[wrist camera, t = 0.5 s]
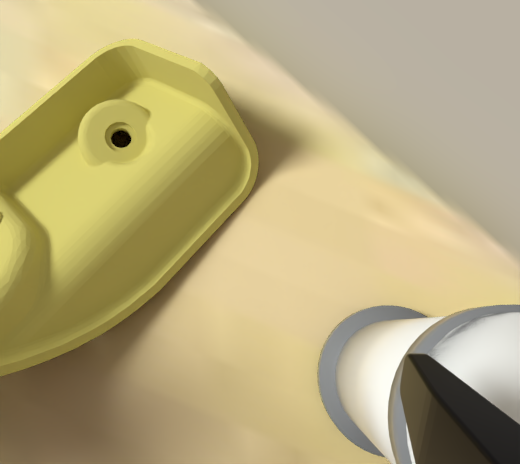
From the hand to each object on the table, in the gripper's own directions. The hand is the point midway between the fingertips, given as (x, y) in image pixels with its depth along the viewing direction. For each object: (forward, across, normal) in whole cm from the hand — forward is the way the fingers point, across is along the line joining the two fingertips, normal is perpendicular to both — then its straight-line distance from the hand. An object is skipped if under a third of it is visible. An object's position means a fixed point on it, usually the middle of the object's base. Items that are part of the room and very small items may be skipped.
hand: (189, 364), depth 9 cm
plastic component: (+17, +9, +3) cm, 20 cm away
